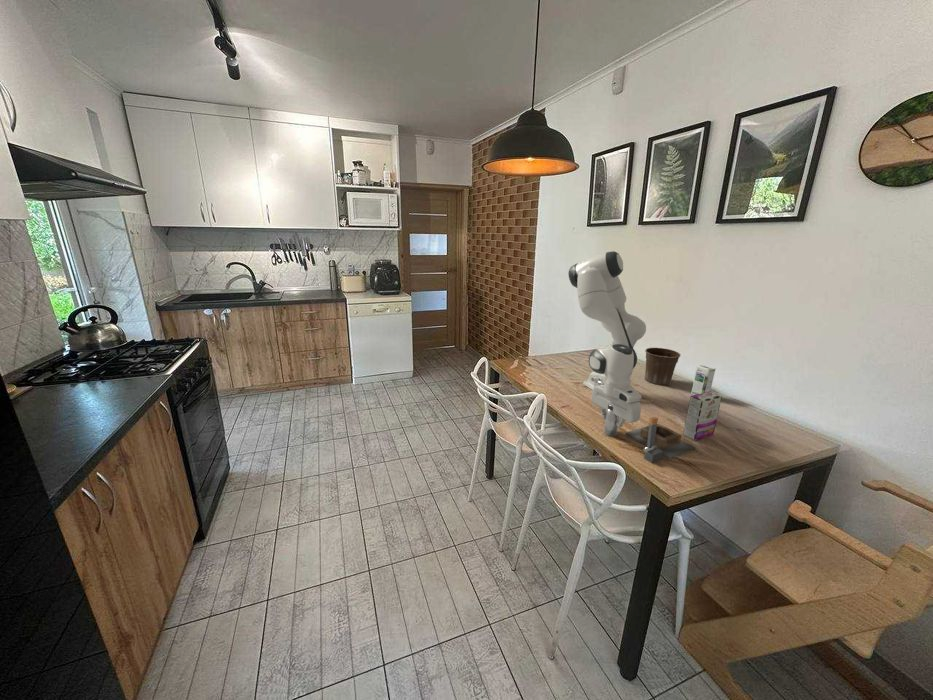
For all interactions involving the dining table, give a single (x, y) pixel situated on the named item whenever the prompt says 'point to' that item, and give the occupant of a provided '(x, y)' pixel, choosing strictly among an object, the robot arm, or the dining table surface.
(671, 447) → the hitch block
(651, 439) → the bar
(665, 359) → the plant pot
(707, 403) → the candy bar box
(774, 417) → the dining table surface
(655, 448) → the retainer base
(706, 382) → the syrup box
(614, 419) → the steel pin
